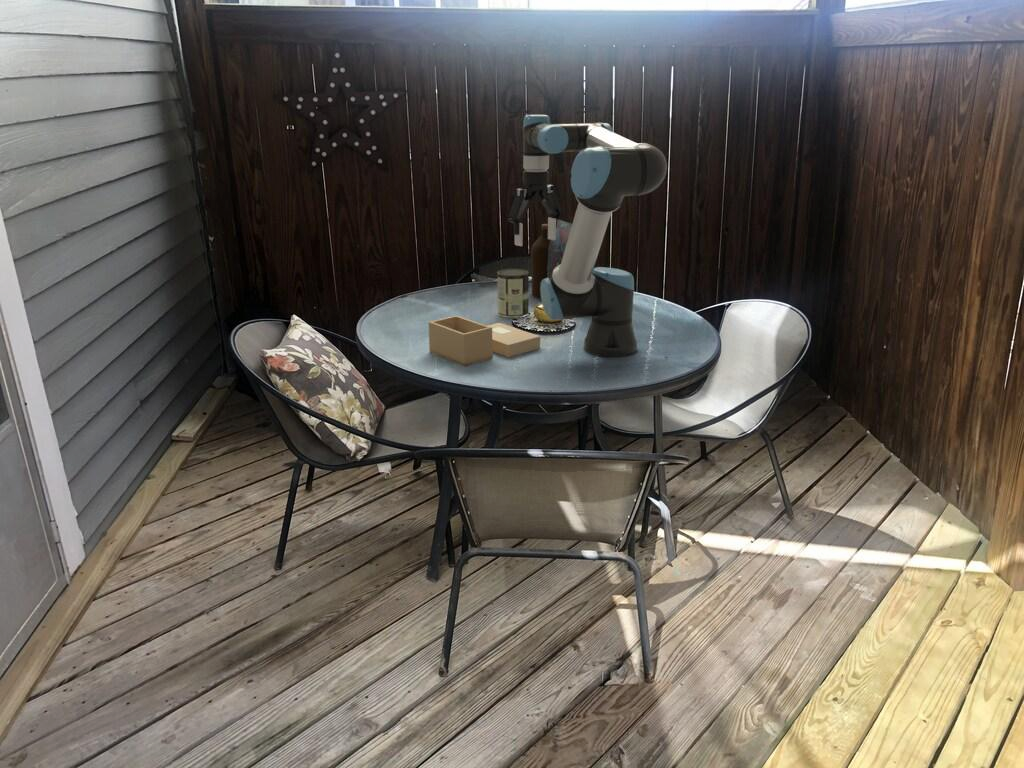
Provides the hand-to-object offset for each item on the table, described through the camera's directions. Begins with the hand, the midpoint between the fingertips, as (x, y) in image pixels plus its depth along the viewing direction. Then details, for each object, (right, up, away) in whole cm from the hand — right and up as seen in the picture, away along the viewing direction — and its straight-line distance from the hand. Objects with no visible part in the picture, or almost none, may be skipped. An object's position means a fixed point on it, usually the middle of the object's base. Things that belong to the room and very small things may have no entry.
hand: (535, 242), depth 253 cm
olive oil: (+5, -11, +47) cm, 49 cm away
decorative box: (+12, -16, +34) cm, 39 cm away
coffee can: (-7, -20, +24) cm, 32 cm away
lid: (-10, -31, -7) cm, 33 cm away
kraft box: (-22, -35, -16) cm, 44 cm away
